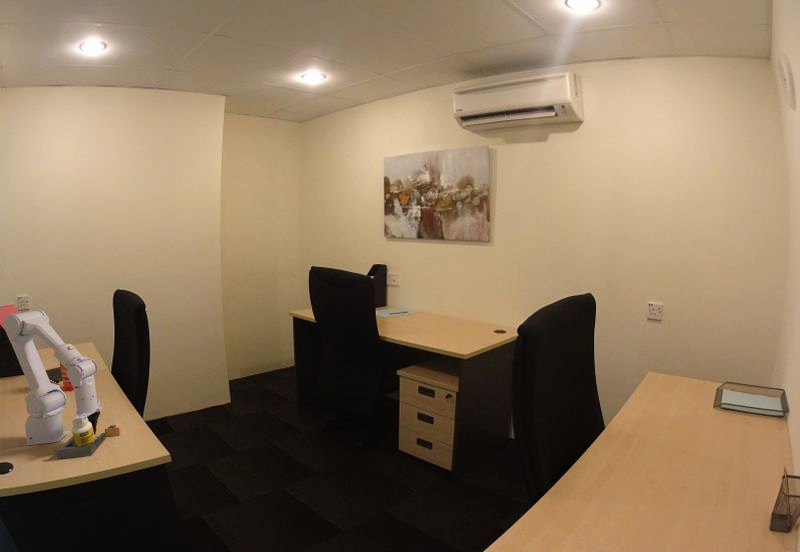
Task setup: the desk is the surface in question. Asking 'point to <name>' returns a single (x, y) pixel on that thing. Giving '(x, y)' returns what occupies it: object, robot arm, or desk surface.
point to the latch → (112, 430)
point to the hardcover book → (55, 374)
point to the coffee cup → (66, 379)
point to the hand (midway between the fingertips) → (91, 435)
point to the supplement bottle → (83, 433)
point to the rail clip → (79, 448)
